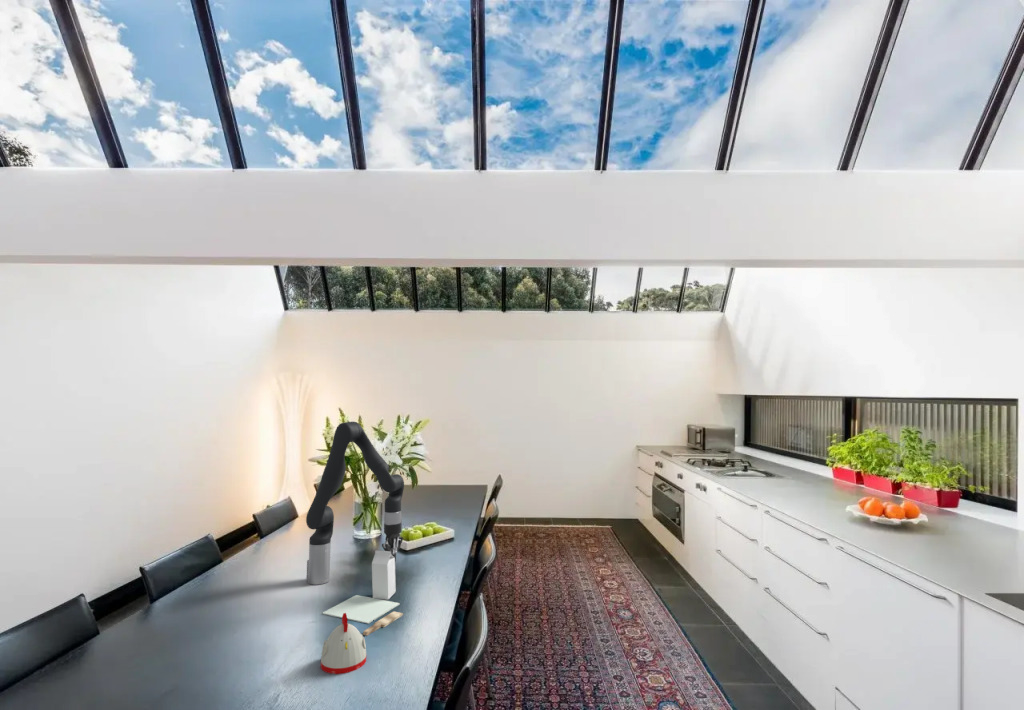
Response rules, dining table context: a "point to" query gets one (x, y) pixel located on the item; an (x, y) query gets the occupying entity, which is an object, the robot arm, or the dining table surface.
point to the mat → (361, 609)
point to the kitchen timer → (343, 649)
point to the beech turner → (383, 622)
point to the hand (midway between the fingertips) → (392, 562)
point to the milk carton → (383, 575)
